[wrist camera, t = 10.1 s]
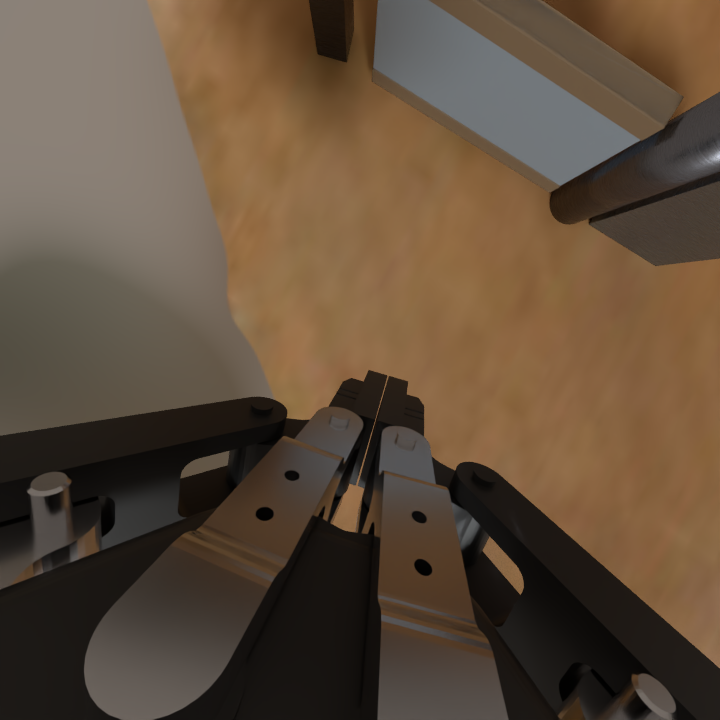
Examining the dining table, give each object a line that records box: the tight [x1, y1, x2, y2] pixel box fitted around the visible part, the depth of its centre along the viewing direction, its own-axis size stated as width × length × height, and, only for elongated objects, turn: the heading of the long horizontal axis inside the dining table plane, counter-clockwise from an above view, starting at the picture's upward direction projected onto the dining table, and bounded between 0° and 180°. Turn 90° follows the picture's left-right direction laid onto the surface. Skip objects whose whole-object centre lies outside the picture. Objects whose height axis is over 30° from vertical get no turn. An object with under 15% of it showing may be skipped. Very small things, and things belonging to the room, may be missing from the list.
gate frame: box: [309, 0, 720, 266], centre depth 19 cm, size 29×3×12 cm, turn 59°
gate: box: [372, 0, 683, 193], centre depth 19 cm, size 14×1×9 cm, turn 61°
